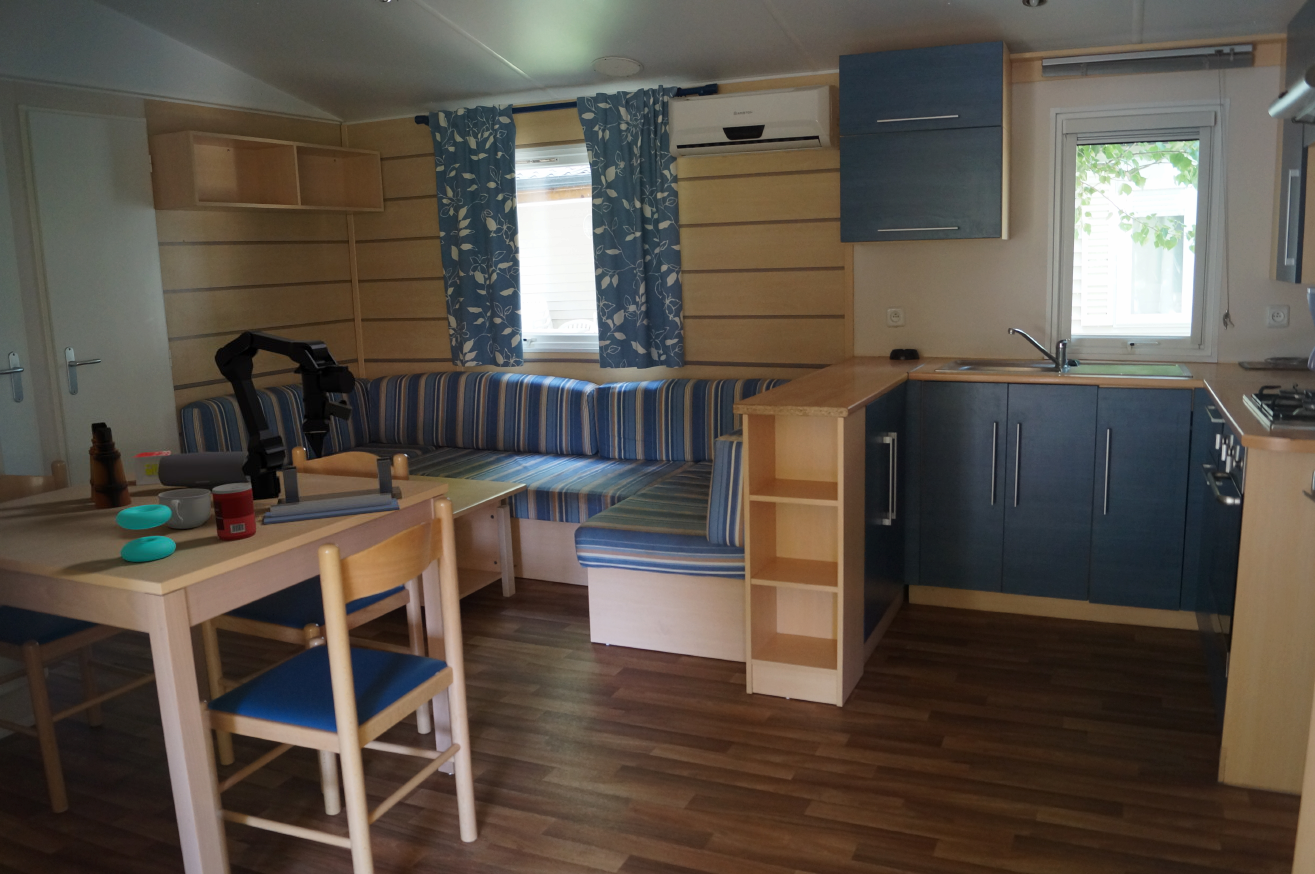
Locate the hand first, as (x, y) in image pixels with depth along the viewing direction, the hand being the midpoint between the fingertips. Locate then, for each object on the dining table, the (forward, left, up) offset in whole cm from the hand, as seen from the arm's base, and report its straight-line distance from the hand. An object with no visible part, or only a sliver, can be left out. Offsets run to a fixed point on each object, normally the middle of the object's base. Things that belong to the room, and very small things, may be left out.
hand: (319, 454), depth 243 cm
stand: (+4, -4, -12) cm, 13 cm away
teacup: (-30, -14, -12) cm, 35 cm away
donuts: (-34, -37, -12) cm, 52 cm away
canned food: (-18, -28, -12) cm, 35 cm away
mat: (+2, -15, -12) cm, 19 cm away
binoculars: (-52, +26, -12) cm, 60 cm away
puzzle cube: (-45, +50, -12) cm, 69 cm away
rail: (+2, -15, -11) cm, 18 cm away
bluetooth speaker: (-29, +31, -12) cm, 44 cm away
